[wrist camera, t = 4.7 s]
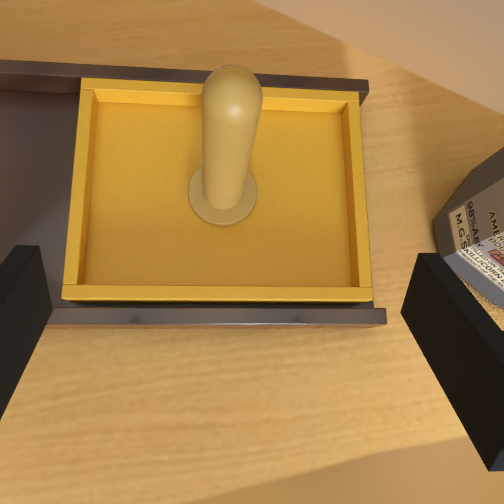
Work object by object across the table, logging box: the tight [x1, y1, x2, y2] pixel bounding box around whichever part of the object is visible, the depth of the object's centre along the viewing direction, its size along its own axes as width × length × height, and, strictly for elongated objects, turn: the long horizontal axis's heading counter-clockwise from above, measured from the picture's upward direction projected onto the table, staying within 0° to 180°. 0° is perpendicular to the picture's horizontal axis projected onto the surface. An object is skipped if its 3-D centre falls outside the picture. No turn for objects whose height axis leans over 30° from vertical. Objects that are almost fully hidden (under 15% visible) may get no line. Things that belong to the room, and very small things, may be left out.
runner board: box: [0, 60, 387, 328], centre depth 29 cm, size 30×17×3 cm, turn 90°
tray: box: [61, 65, 373, 305], centre depth 23 cm, size 18×14×13 cm
